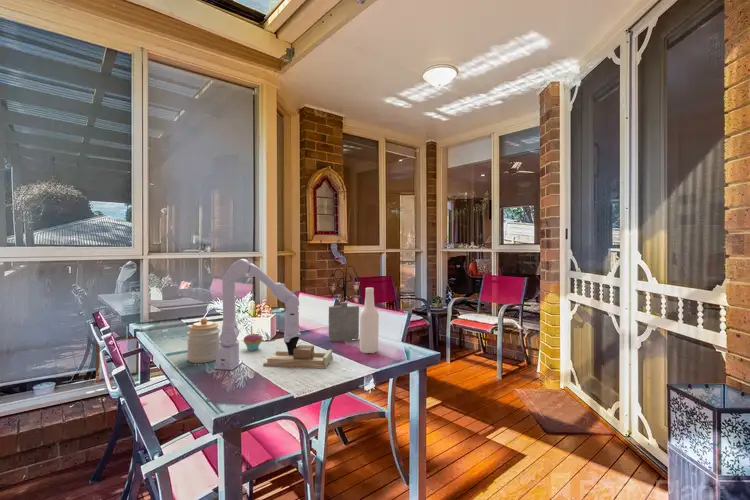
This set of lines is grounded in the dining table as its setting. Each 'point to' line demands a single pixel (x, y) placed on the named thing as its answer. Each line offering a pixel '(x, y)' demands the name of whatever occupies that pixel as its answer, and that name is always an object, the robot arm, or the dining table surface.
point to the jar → (203, 341)
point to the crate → (304, 352)
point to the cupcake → (252, 341)
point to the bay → (299, 360)
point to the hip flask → (343, 322)
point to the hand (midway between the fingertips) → (291, 354)
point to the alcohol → (369, 324)
